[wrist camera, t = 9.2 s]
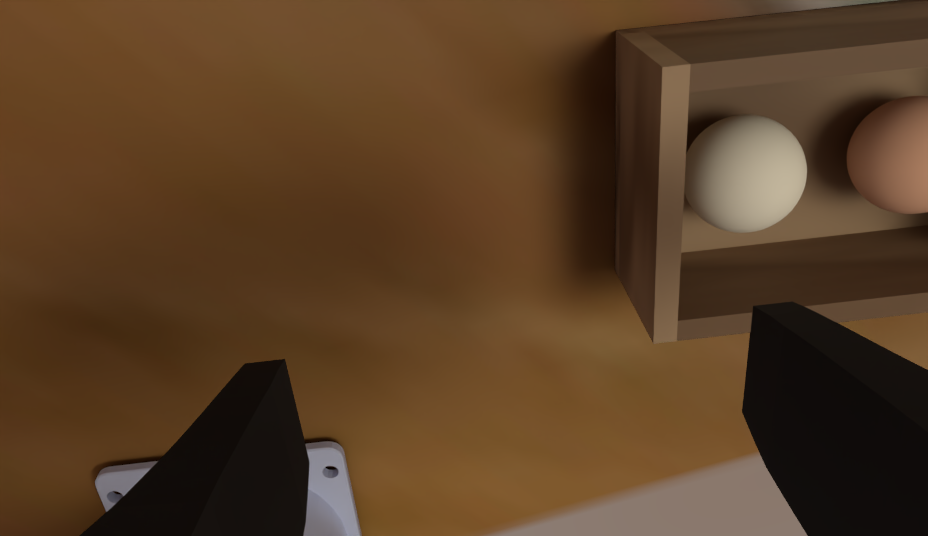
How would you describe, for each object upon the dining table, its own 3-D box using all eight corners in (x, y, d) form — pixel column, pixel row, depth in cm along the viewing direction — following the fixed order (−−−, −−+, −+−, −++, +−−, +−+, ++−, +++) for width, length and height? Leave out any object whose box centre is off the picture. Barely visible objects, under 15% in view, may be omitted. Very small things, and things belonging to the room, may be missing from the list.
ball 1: (770, 198, 22) (820, 245, 19) (665, 210, 22) (701, 259, 19) (781, 94, 20) (837, 129, 18) (668, 106, 20) (709, 143, 18)
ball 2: (922, 181, 22) (994, 226, 19) (819, 193, 22) (876, 239, 19) (945, 76, 20) (1025, 108, 18) (833, 88, 20) (897, 122, 18)
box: (942, 232, 23) (1039, 299, 20) (614, 269, 23) (653, 343, 20) (997, -10, 20) (1125, 17, 16) (615, 30, 20) (662, 67, 16)
